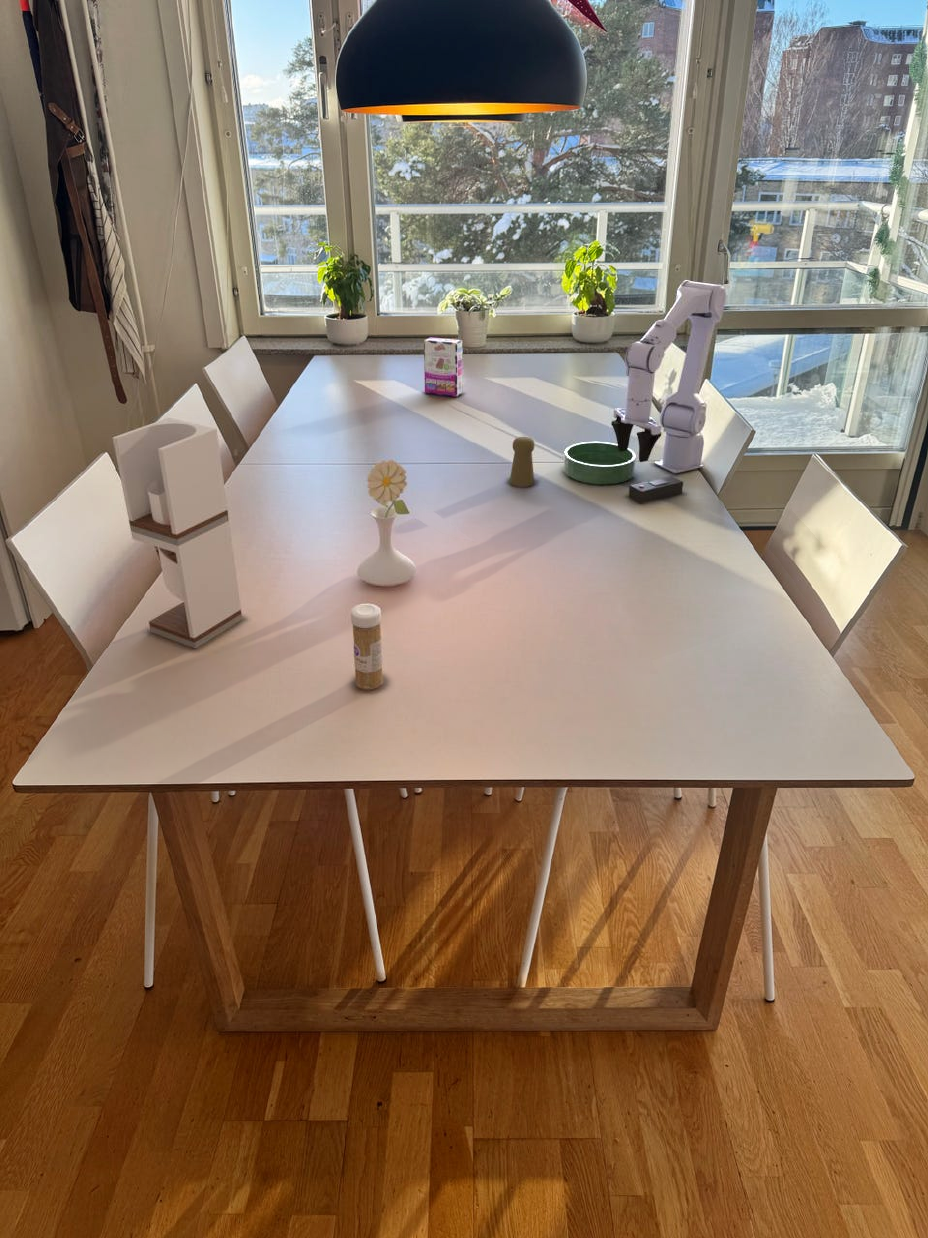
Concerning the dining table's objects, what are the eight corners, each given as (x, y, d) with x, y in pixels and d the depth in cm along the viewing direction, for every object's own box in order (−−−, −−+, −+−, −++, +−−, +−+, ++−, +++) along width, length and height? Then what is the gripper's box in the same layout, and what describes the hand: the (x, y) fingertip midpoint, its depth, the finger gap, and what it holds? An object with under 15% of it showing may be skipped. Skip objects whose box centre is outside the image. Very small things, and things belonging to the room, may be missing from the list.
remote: (669, 487, 215) (671, 474, 214) (681, 493, 212) (683, 480, 210) (628, 497, 210) (629, 483, 208) (640, 503, 207) (642, 490, 205)
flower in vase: (346, 575, 175) (338, 452, 162) (395, 559, 181) (391, 440, 168) (383, 601, 166) (377, 474, 153) (433, 584, 172) (432, 460, 159)
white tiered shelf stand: (198, 604, 165) (168, 417, 147) (242, 619, 160) (216, 428, 142) (150, 631, 156) (112, 437, 138) (195, 648, 151) (162, 449, 134)
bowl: (604, 456, 233) (606, 437, 231) (648, 478, 220) (650, 458, 218) (549, 467, 226) (550, 448, 223) (591, 490, 213) (593, 471, 210)
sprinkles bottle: (349, 683, 143) (344, 610, 136) (369, 671, 146) (365, 599, 139) (369, 694, 140) (365, 620, 134) (389, 682, 143) (386, 608, 137)
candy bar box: (463, 393, 281) (463, 339, 273) (456, 397, 277) (457, 343, 269) (430, 389, 285) (430, 336, 276) (423, 393, 281) (423, 339, 272)
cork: (532, 487, 214) (534, 443, 209) (507, 485, 215) (509, 441, 210) (536, 478, 219) (538, 435, 214) (511, 476, 220) (513, 433, 215)
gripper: (605, 391, 205) (600, 448, 212) (645, 409, 194) (639, 468, 201) (629, 387, 208) (624, 444, 215) (671, 404, 197) (663, 463, 204)
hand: (633, 455), depth 208 cm, fingers open, 7 cm apart
